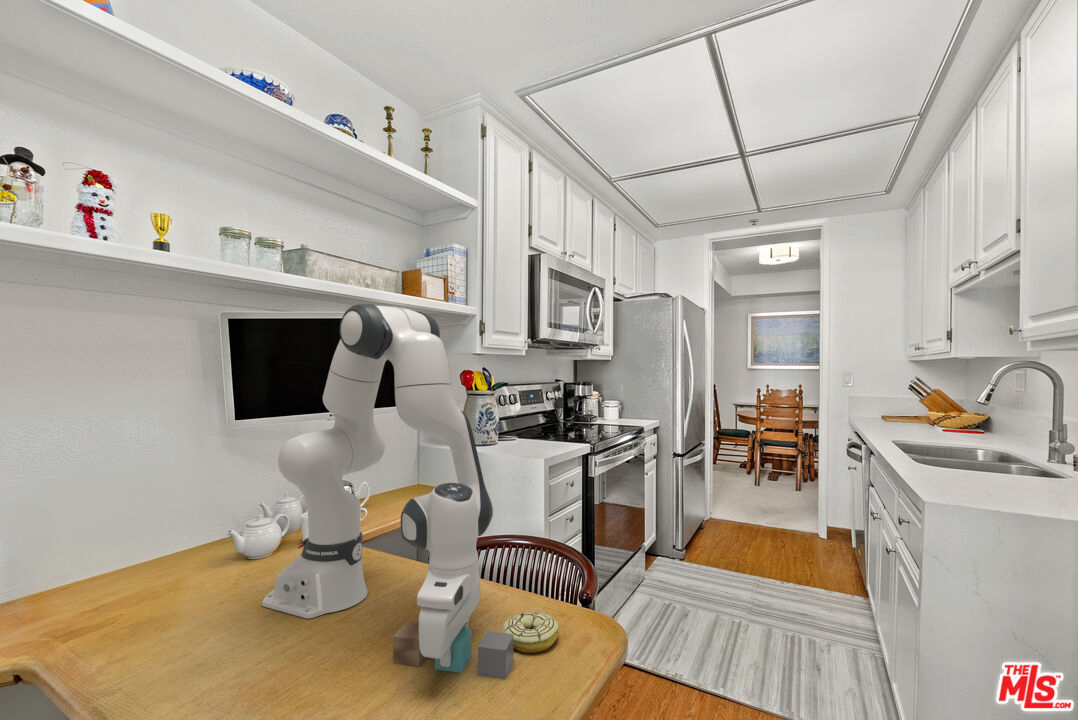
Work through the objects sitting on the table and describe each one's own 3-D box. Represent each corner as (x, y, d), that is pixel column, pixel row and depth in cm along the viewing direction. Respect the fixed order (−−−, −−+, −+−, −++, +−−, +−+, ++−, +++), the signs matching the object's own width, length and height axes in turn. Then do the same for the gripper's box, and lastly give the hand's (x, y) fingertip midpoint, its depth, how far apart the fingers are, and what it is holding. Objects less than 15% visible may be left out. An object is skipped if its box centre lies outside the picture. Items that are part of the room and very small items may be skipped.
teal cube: (435, 669, 85) (435, 640, 85) (446, 652, 90) (446, 625, 90) (461, 672, 84) (461, 644, 84) (471, 655, 89) (471, 628, 89)
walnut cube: (393, 664, 87) (393, 636, 87) (406, 648, 92) (406, 621, 92) (419, 667, 86) (419, 639, 86) (431, 651, 90) (431, 624, 91)
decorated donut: (518, 621, 101) (518, 603, 101) (566, 633, 97) (566, 614, 97) (493, 647, 92) (493, 627, 92) (544, 662, 87) (544, 641, 87)
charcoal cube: (478, 675, 83) (478, 646, 83) (487, 658, 88) (487, 631, 88) (505, 679, 82) (505, 650, 82) (513, 662, 87) (513, 634, 87)
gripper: (458, 553, 98) (458, 621, 98) (411, 601, 78) (411, 687, 78) (488, 555, 97) (488, 624, 96) (448, 605, 77) (448, 692, 76)
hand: (453, 653), depth 87 cm, fingers closed on teal cube, 5 cm apart
